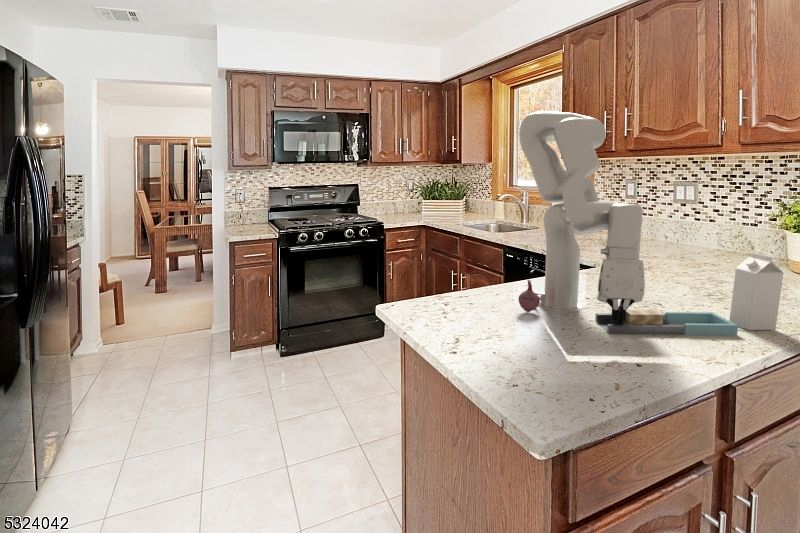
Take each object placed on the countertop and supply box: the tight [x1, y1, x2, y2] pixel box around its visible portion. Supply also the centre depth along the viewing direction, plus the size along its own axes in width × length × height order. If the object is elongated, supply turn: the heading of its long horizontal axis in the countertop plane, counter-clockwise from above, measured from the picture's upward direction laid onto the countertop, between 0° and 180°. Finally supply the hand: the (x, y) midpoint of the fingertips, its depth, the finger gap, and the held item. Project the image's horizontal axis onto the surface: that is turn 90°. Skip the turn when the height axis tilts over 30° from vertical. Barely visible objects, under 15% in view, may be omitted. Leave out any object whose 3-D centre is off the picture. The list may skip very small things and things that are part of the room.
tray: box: [664, 311, 739, 336], centre depth 122 cm, size 12×11×4 cm
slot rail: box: [594, 312, 686, 336], centre depth 123 cm, size 18×11×3 cm, turn 85°
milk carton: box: [728, 252, 784, 331], centre depth 124 cm, size 7×7×19 cm
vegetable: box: [517, 279, 541, 313], centre depth 140 cm, size 6×6×10 cm
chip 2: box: [640, 309, 664, 325], centre depth 123 cm, size 4×4×4 cm
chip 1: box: [624, 309, 647, 325], centre depth 123 cm, size 4×4×4 cm
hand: (617, 323), depth 123 cm, fingers closed
